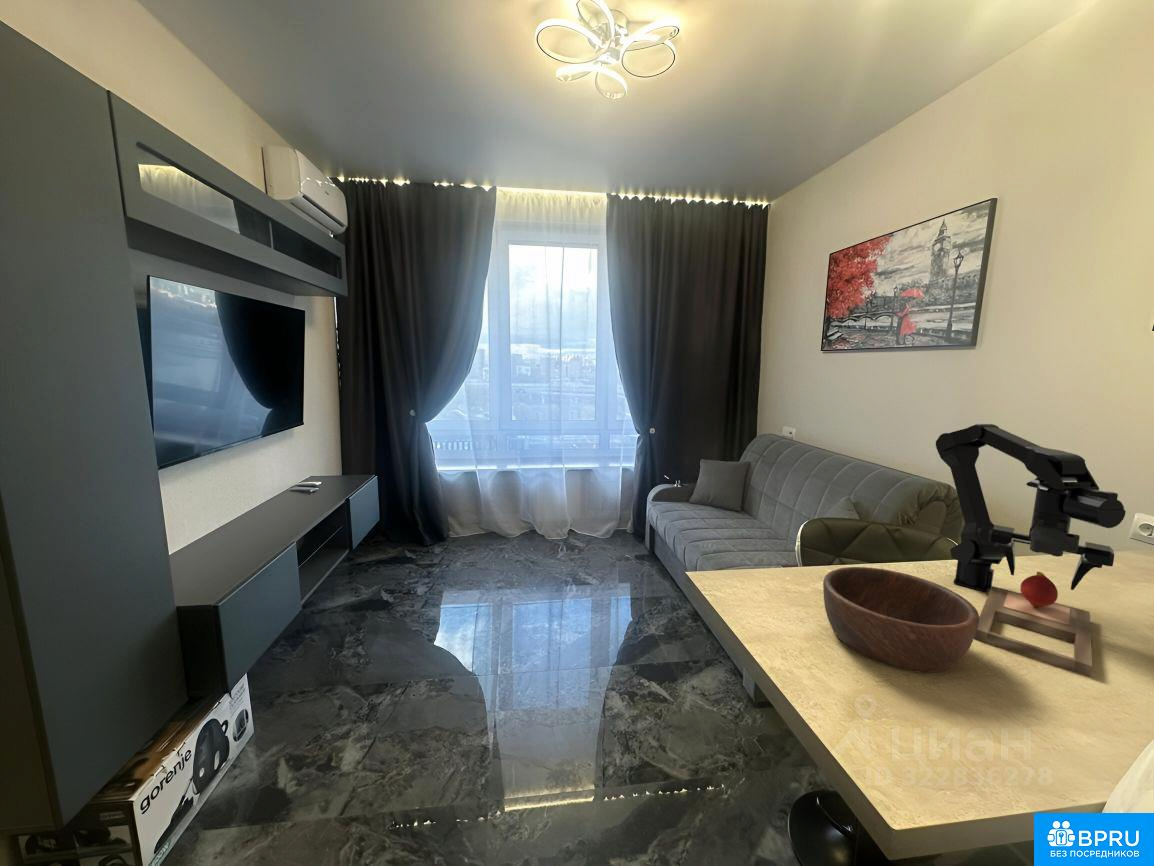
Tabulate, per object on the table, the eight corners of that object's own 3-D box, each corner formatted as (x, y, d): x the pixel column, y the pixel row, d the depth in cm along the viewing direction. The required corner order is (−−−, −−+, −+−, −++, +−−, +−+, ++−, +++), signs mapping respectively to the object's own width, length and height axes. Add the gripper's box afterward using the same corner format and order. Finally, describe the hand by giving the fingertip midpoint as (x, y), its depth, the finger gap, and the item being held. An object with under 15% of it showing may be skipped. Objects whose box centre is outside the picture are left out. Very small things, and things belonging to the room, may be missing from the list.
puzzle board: (973, 638, 94) (974, 627, 94) (990, 593, 113) (992, 584, 113) (1090, 676, 83) (1092, 664, 83) (1088, 620, 102) (1089, 610, 102)
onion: (1045, 603, 104) (1051, 569, 103) (1061, 616, 99) (1067, 580, 98) (1012, 598, 106) (1018, 565, 105) (1026, 610, 101) (1032, 575, 100)
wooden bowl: (841, 598, 110) (845, 556, 109) (980, 643, 93) (987, 594, 91) (800, 640, 93) (804, 591, 91) (961, 706, 75) (970, 646, 74)
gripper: (989, 509, 101) (979, 578, 103) (1121, 532, 87) (1107, 611, 89) (995, 500, 108) (986, 564, 110) (1118, 519, 95) (1105, 592, 97)
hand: (1041, 581), depth 102 cm, fingers open, 9 cm apart
